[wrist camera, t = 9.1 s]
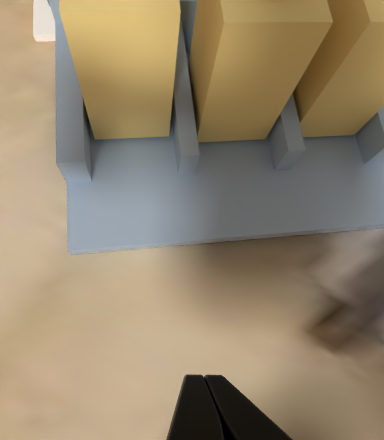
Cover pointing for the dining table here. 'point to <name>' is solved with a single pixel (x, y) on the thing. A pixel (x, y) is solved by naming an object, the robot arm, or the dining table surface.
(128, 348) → the dining table surface
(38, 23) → the card
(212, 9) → the key middle
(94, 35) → the key
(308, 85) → the key
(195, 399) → the robot arm
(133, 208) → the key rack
